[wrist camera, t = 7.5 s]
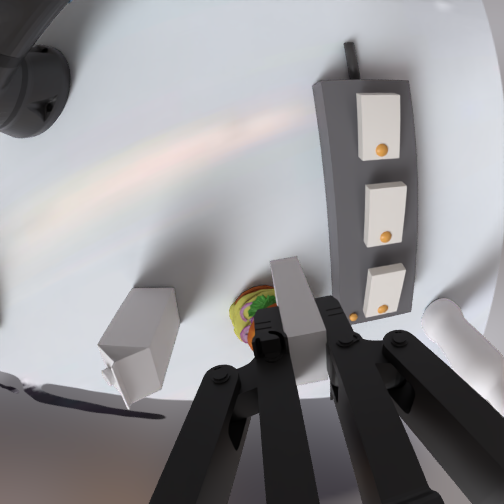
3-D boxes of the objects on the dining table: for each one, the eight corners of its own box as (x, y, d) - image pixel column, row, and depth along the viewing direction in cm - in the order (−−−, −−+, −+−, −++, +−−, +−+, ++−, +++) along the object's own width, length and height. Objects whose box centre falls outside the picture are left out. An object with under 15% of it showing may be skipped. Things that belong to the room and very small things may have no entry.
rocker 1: (356, 93, 31) (361, 95, 30) (394, 93, 31) (400, 95, 29) (358, 156, 36) (363, 161, 34) (394, 154, 35) (399, 158, 34)
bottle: (419, 337, 53) (493, 456, 25) (418, 304, 50) (509, 428, 22) (452, 322, 52) (533, 428, 24) (454, 289, 49) (551, 396, 21)
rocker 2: (365, 184, 35) (370, 190, 34) (401, 181, 35) (407, 186, 34) (363, 241, 40) (367, 248, 38) (396, 236, 39) (401, 242, 38)
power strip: (305, 45, 35) (313, 33, 29) (385, 46, 34) (403, 37, 29) (332, 309, 50) (341, 329, 44) (398, 296, 49) (413, 314, 44)
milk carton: (174, 286, 48) (140, 370, 30) (180, 324, 50) (155, 412, 33) (132, 287, 48) (84, 365, 30) (140, 323, 50) (103, 406, 33)
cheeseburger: (229, 277, 47) (245, 313, 38) (295, 275, 50) (323, 307, 41) (225, 332, 51) (239, 373, 42) (286, 327, 54) (309, 364, 45)
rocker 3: (368, 268, 39) (372, 276, 38) (401, 262, 39) (406, 270, 38) (362, 310, 44) (366, 318, 43) (393, 304, 44) (396, 311, 42)
